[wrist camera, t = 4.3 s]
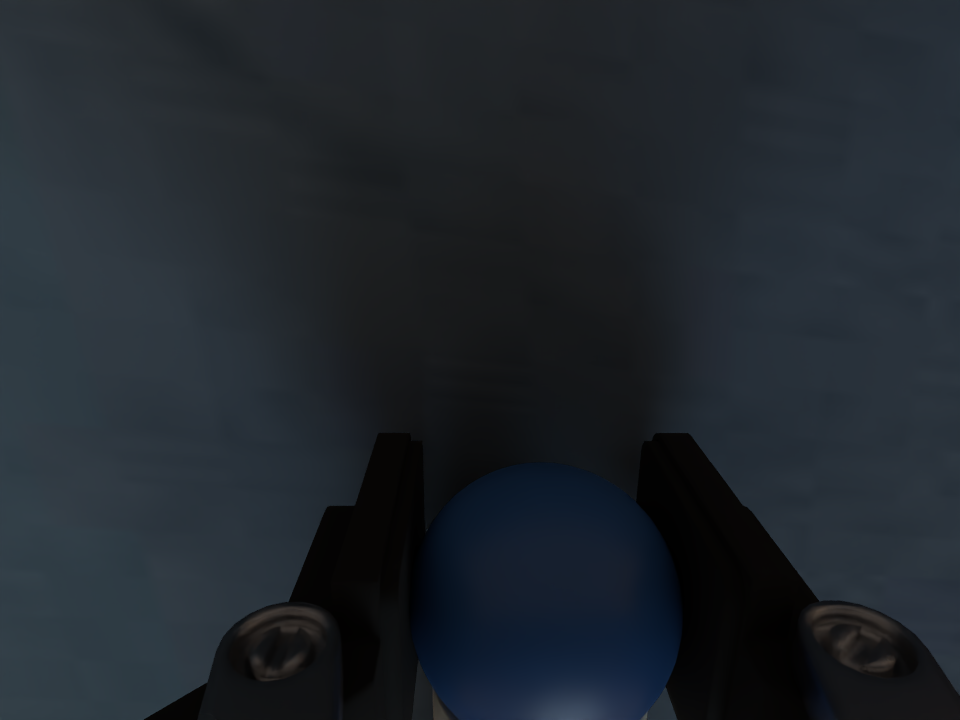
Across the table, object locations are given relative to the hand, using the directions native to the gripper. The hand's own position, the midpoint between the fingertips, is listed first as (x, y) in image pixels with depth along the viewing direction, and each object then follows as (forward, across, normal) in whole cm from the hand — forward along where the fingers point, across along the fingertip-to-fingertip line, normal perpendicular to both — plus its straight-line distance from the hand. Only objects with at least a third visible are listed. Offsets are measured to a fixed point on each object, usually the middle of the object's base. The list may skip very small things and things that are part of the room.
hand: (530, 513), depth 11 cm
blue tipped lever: (0, 0, +4) cm, 4 cm away
